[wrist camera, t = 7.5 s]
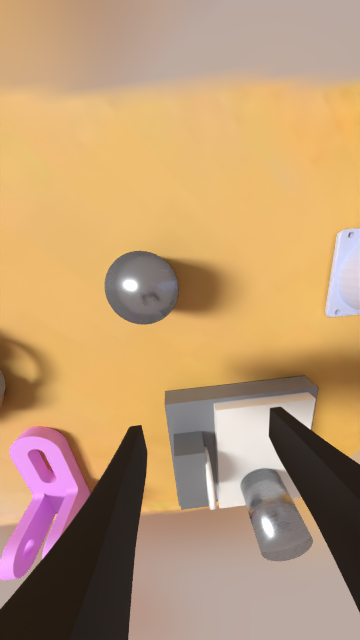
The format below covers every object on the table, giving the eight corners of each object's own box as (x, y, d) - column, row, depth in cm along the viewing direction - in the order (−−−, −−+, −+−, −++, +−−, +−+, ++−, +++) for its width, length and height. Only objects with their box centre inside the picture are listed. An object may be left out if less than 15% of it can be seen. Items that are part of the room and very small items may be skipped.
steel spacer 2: (265, 462, 20) (295, 524, 16) (288, 481, 22) (322, 544, 17) (232, 484, 21) (250, 549, 16) (255, 501, 22) (279, 566, 18)
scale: (304, 375, 21) (360, 422, 15) (291, 473, 26) (329, 538, 20) (165, 391, 20) (163, 446, 14) (178, 487, 25) (181, 559, 19)
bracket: (92, 495, 25) (64, 579, 18) (51, 501, 25) (8, 588, 18) (59, 422, 21) (8, 495, 14) (11, 429, 21) (-62, 506, 14)
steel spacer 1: (176, 256, 16) (179, 252, 11) (175, 309, 18) (177, 324, 13) (122, 254, 16) (101, 249, 11) (125, 308, 17) (107, 323, 13)
